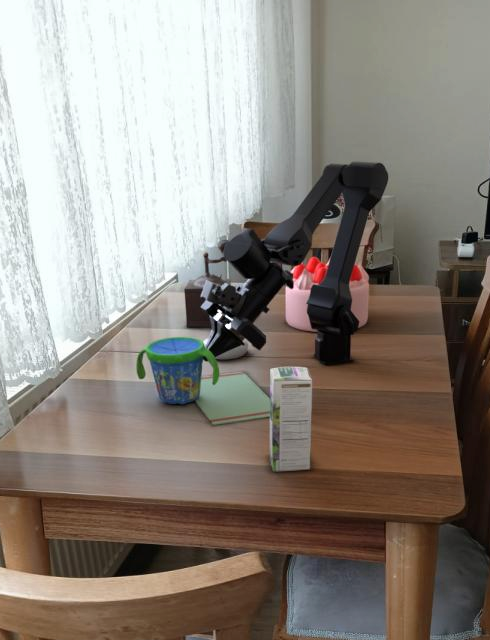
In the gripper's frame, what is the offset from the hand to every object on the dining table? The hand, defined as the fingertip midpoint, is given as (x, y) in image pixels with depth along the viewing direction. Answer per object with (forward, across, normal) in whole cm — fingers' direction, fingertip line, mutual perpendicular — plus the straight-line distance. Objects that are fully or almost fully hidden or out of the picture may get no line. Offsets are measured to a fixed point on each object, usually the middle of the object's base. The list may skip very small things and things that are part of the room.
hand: (203, 359), depth 142 cm
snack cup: (+8, 0, +2) cm, 8 cm away
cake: (-26, -33, +36) cm, 55 cm away
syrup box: (+4, +33, +6) cm, 34 cm away
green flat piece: (+2, +3, +7) cm, 8 cm away
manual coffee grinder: (-9, -48, +19) cm, 53 cm away
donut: (-4, -21, +14) cm, 25 cm away
